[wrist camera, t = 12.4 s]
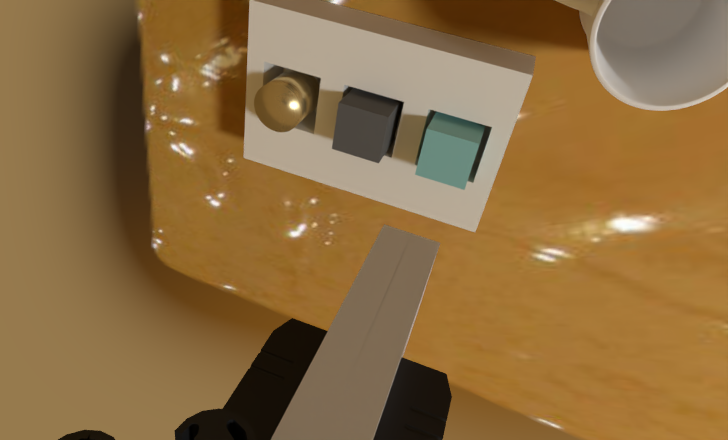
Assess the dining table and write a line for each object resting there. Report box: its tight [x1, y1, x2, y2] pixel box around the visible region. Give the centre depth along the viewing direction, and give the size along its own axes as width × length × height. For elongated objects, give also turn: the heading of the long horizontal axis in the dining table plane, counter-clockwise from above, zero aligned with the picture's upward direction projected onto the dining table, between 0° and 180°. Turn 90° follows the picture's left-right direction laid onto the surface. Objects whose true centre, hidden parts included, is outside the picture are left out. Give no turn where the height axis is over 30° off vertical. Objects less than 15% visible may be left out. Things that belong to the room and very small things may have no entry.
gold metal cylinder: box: [254, 69, 320, 132], centre depth 43 cm, size 4×4×4 cm
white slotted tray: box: [244, 0, 536, 232], centre depth 44 cm, size 14×22×5 cm, turn 80°
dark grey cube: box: [332, 88, 402, 163], centre depth 42 cm, size 4×4×4 cm
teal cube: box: [415, 111, 486, 190], centre depth 41 cm, size 4×4×4 cm
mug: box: [555, 0, 728, 111], centre depth 32 cm, size 12×8×12 cm
